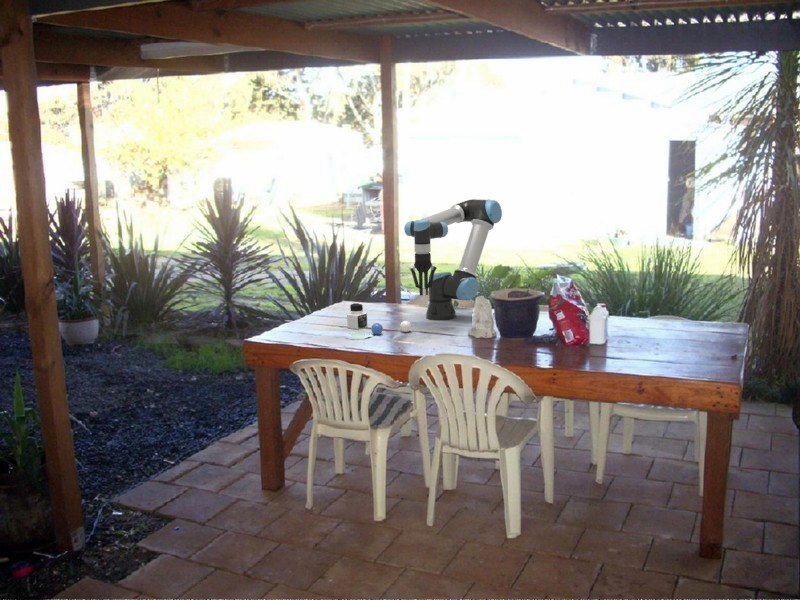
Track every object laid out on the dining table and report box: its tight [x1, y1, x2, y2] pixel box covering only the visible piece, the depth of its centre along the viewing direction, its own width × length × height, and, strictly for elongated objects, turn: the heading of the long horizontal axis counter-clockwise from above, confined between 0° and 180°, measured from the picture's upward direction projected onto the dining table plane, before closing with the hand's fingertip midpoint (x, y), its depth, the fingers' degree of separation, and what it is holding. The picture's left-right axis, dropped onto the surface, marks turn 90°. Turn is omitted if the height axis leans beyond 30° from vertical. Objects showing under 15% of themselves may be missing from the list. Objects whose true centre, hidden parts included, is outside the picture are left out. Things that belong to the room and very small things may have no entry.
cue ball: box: [399, 320, 412, 333], centre depth 388 cm, size 6×6×6 cm
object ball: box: [370, 322, 384, 336], centre depth 385 cm, size 6×6×6 cm
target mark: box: [349, 332, 371, 340], centre depth 384 cm, size 14×14×1 cm
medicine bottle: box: [346, 302, 368, 330], centre depth 401 cm, size 7×7×12 cm
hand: (423, 301), depth 388 cm, fingers closed
